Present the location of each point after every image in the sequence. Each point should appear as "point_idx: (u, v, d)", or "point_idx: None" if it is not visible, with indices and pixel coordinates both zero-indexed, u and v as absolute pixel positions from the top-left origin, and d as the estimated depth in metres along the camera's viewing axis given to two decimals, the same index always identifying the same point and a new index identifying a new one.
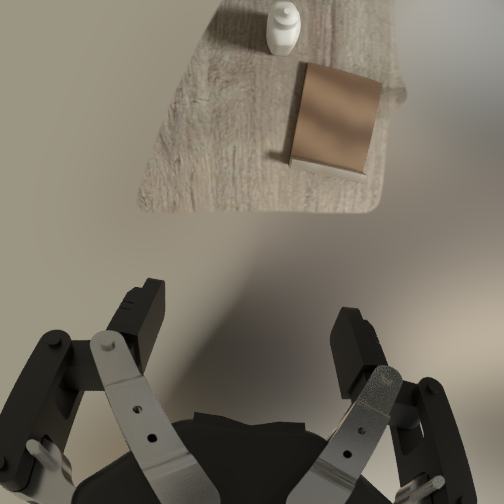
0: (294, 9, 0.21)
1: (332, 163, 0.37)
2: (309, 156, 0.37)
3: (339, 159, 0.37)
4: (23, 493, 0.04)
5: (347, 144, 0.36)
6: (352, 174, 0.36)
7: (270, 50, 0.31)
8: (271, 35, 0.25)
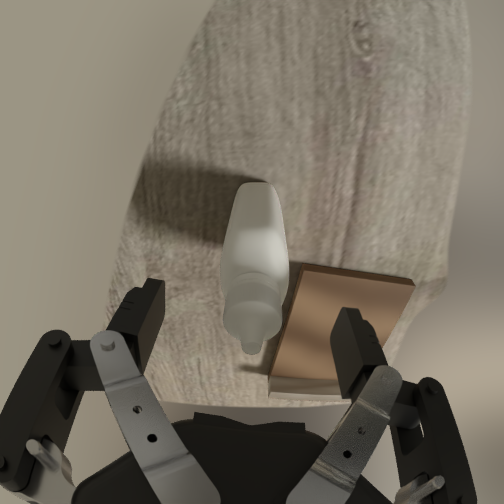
0: (271, 314, 0.12)
1: (324, 378, 0.28)
2: (294, 375, 0.28)
3: (333, 374, 0.28)
4: (23, 493, 0.04)
5: None
6: None
7: None
8: None
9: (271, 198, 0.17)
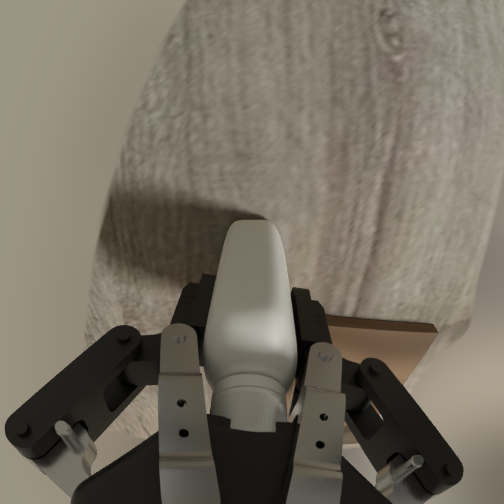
0: None
1: None
2: None
3: None
4: (34, 462, 0.05)
5: None
6: (353, 445, 0.22)
7: None
8: None
9: (273, 248, 0.13)
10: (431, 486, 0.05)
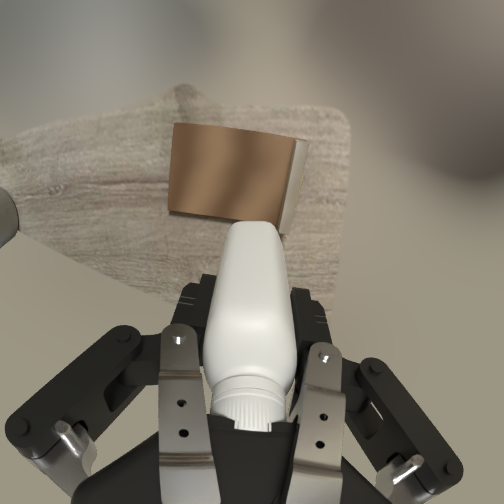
0: None
1: (285, 177, 0.32)
2: (277, 205, 0.33)
3: (279, 170, 0.31)
4: (34, 462, 0.05)
5: (259, 161, 0.31)
6: (296, 161, 0.29)
7: None
8: None
9: (272, 250, 0.13)
10: (431, 486, 0.05)
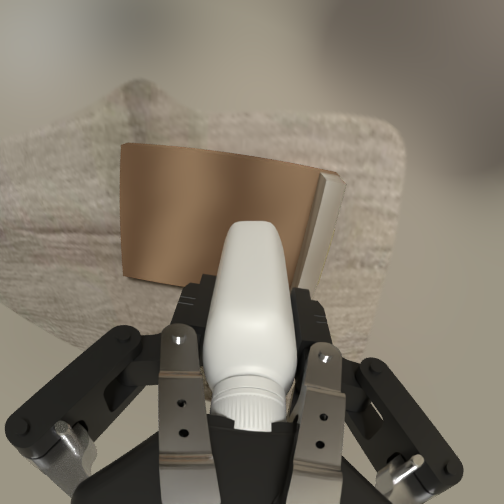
0: None
1: (302, 234, 0.20)
2: (287, 275, 0.21)
3: (293, 222, 0.20)
4: (34, 462, 0.05)
5: (261, 207, 0.19)
6: (323, 214, 0.17)
7: None
8: None
9: (272, 250, 0.13)
10: (431, 486, 0.05)
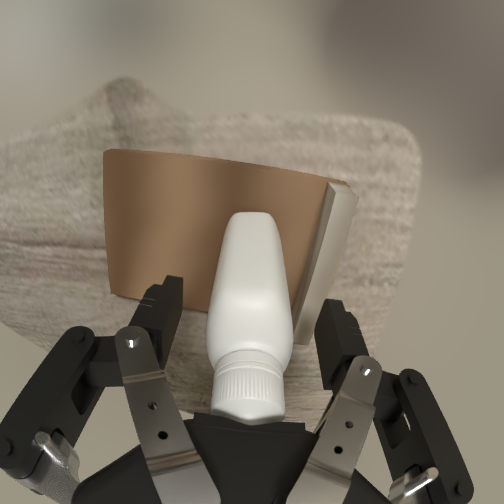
0: (272, 410, 0.08)
1: (306, 251, 0.18)
2: (290, 294, 0.19)
3: (297, 238, 0.17)
4: (25, 481, 0.04)
5: None
6: (331, 231, 0.15)
7: None
8: None
9: (271, 238, 0.14)
10: (439, 503, 0.05)
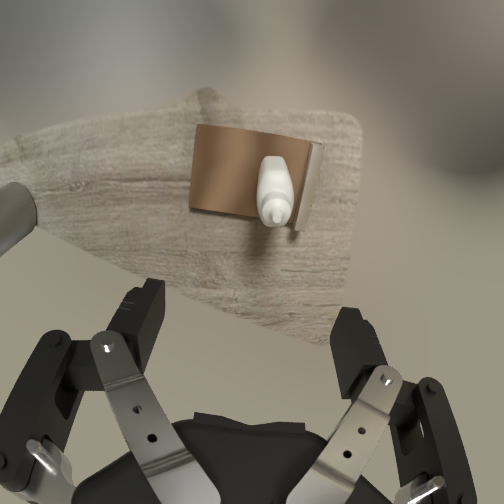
0: (286, 205, 0.24)
1: (301, 178, 0.34)
2: (293, 204, 0.35)
3: (296, 171, 0.33)
4: (23, 493, 0.04)
5: None
6: (312, 163, 0.31)
7: None
8: (260, 216, 0.28)
9: (283, 162, 0.29)
10: None
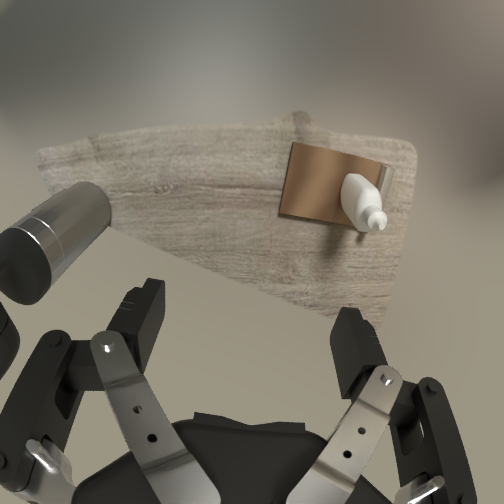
0: (384, 217, 0.30)
1: None
2: None
3: None
4: (23, 493, 0.04)
5: None
6: (385, 181, 0.37)
7: (343, 209, 0.40)
8: (356, 223, 0.34)
9: (367, 180, 0.36)
10: None
